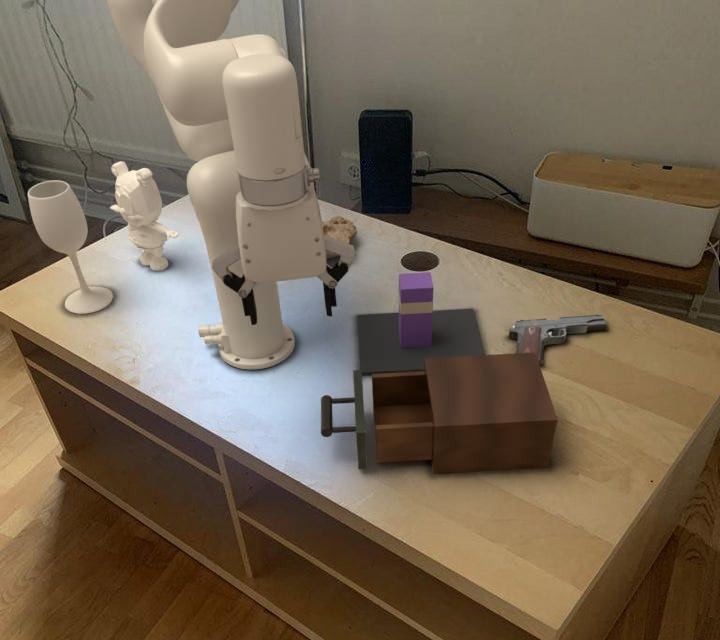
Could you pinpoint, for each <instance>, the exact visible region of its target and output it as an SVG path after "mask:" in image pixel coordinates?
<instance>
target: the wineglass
mask: <svg viewBox="0 0 720 640" xmlns="http://www.w3.org/2000/svg"><path fill="white" fill-rule="evenodd" d="M27 199H28V200H27V201H28V206H29V211H30V215H31V218H32V222H33V225H34V227H35V230H36V232H37V234H38V236H39V238H40V240H41V241H42V242H43V244H45V245H46V246H47V247H48V248H50V249H51V250H53V251H56V252H57V253H61V254H65V255H66V256H68V257H69V259H70V261H71V264H72V266H73V268H74V271H75V274H76V277H77V280H78V284H79V286H80V289H77V290H75V291H74V292H72V293H71V294H69V296H67V297H66V299H65V300H64V308H65V309H66V310H67V311H69V313H73V314H78V315H84V314H92V313H95V312H98V311H101V310H103V309H104V308H106V307H107V306H108V305H110V303H112V301H113V299H114V293H113V292H112V291H111V290H110V288H109V289H108V288H106V287H103V286H88V283H87V281H86V279H85V277H84V275H83V271H82V269H81V266H80V263H79V260H78V255H77V253H78V251H79V250H80V249H81V248H82V247H83V246H84V244H85V243H86V240H87V237H88V231H89V228H88V223H87V219H86V216H85V212H84V210H83V208H82V205H81V203H80V201H79V199H78V198H77V196H76V194H75V192H74V190H73V189H72V187H71V185H70V184H69V183H67V182H66V181H64V180H57V179H56V180H53V179H52V180H46V181H42V182H40V183H36V184H35V185H33V186H32V187H30V188H29V189H28V191H27Z"/></svg>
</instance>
